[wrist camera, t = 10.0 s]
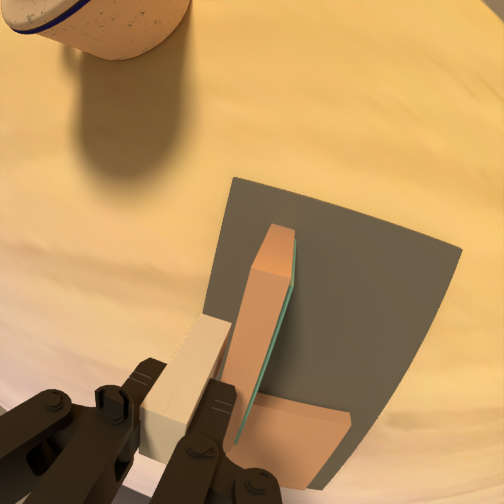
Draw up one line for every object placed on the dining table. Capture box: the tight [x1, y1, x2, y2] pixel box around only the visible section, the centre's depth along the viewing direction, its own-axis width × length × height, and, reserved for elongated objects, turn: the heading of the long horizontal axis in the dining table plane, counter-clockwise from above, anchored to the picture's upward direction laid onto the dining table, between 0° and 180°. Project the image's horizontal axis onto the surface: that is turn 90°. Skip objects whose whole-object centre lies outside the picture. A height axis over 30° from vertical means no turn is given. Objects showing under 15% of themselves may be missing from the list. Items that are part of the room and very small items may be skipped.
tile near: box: [221, 224, 296, 453], centre depth 16 cm, size 2×10×8 cm, turn 166°
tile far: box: [225, 392, 351, 490], centre depth 23 cm, size 2×10×8 cm
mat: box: [202, 177, 462, 490], centre depth 22 cm, size 15×26×1 cm, turn 166°
